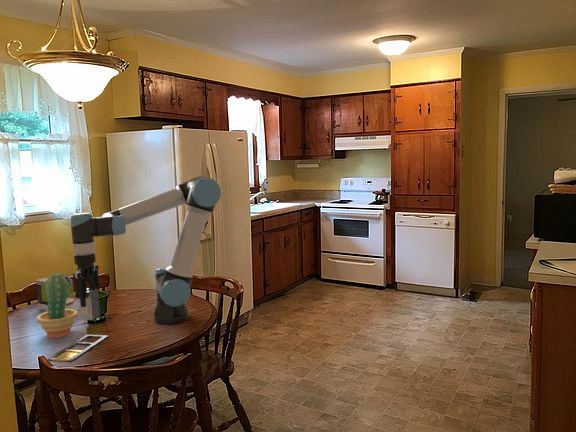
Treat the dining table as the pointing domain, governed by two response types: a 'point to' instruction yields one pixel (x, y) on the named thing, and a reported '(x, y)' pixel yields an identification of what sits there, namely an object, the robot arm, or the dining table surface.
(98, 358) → the dining table surface
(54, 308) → the potted cactus
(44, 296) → the tea box
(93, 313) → the grey rectangular block
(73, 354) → the grey flat rectangular frame
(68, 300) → the lidded jar
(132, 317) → the dining table surface
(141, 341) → the dining table surface
